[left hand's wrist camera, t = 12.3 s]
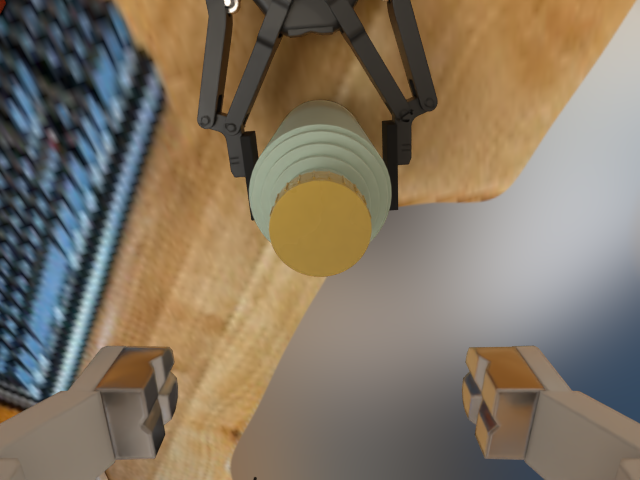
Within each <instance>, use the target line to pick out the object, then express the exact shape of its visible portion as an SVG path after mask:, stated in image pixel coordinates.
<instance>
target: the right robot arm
mask: <svg viewBox="0 0 640 480" xmlns="http://www.w3.org/2000/svg"><path fill="white" fill-rule="evenodd" d="M253 1H254V2H255V3H256V5H257V6H258V7H259V8H260V10H261V11H262V12H263V13H264V15H265V19H264V21H263V24H262V26H261V29H260V31H259V34H258V37H257V41H256V44H255V47H254V49H253V52H252V54H251V57H250V59H249V62H248V64H247V67H246V69H245V72H244V74H243V77H242V79H241V82H240V84H239V87H238V89H237V92H236V94H235V97H234V99H233V102H232V104H231V107H230V109H229V112H228V114H226V113H222V104H223V97H224V89H225V82H226V74H227V66H228V59H229V51H230V43H231V36H232V26H233V16H232V14H236V13H237V12H238V11H239V10H240V3H241V0H206V4H207V9H208V14H209V19H208V28H207V37H206V46H205V55H204V64H203V73H202V82H201V91H200V100H199V108H198V117H197V121H198V124H199V125H200V126H201V127H202V128H204V129H212V130H216V131H219V132H221V133H222V134H223V135H224V136H225V138H226V141H227V147H228V154H229V160H230V167H231V172H232V174H233V175H234V177H246V184H247V191H248V199H249V186H250V179H251V175H252V172H253V169H254V167H255V164H256V162H257V160H258V159H259V158H258V151H257V143H256V135H255V131H248V132H245V131H244V128H245V124H246V121H247V119H248V117H249V114H250V112H251V109H252V107H253V105H254V102H255V100H256V97H257V95H258V93H259V90H260V88H261V85H262V83H263V81H264V78H265V76H266V73H267V71H268V68H269V66H270V64H271V61H272V59H273V56H274V54H275V52H276V50H277V48H278V46H279V44H280V41H281V39H282V36H283V35H285V36H288V37H290V38H293V37H302V36H304V35H307V34H309V33H314V34H319V35H329V34H333V33H335V32H337V31H338V30H340V32H341V34H342V35H343V37H344V38H345V40H346V42H347V43H348V44H349V46H350V47H351V49H352V51H353V52H354V54H355V56H356V57H357V59H358V60H359V62H360V64H361V65H362V67H363V69H364V70H365V72H366V74H367V75H368V77H369V78H370V80H371V82H372V83H373V85H374V87H375V88H376V90H377V91H378V93H379V95H380V96H381V98H382V100H383V101H384V103H385V105H386V106H387V108H388V109H389V111H390V113H391V114H392V120H389V121H382V144H383V161H384V163H385V166H386V168H387V170H388V174H389V177H390V182H391V205H390V209H389V210H398V165H405V164H409V162H410V160H411V125H412V121H413V120H414V118H415V117H417V116H418V115H421V114H423V113H425V112H427V111H432V110H434V109H435V108H436V106H437V97H436V93H435V89H434V86H433V82H432V78H431V75H430V71H429V68H428V64H427V60H426V57H425V53H424V49H423V46H422V42H421V38H420V35H419V31H418V27H417V24H416V20H415V16H414V13H413V9H412V5H411V2H410V0H382V1H387V7H388V13H389V17H390V21H391V24H392V28H393V31H394V35H395V38H396V41H397V45H398V48H399V52H400V55H401V59H402V62H403V65H404V69H405V72H406V76H407V79H408V83H409V86H410V89H411V93H412V96H413V97H412V98H410V99H407V100H406V99H405V98H404V96H403V94H402V92H401V91H400V89H399V87H398V86H397V84H396V82H395V81H394V79H393V77H392V76H391V74H390V72H389V71H388V69H387V67H386V66H385V64H384V62H383V60H382V59H381V57H380V55H379V54H378V52H377V50H376V49H375V47H374V45H373V44H372V42H371V40H370V39H369V37H368V35H367V33H366V32H365V29H364V27H363V25H362V23H361V22H360V20H359V18H358V17H357V15H356V13H355V12H354V10H353V8H354V6H355V5H356V3H357V1H358V0H253ZM249 206H250V201H249ZM250 213H251V220H255V219H254V217H253V214H252V211H251V207H250Z"/></svg>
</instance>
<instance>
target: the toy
mask: <svg viewBox="0 0 640 480" xmlns="http://www.w3.org/2000/svg"><path fill="white" fill-rule="evenodd" d="M5 4H6V2H5V0H0V13H1V12H2V10H3V8H4V6H5Z"/></svg>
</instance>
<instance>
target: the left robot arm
mask: <svg viewBox="0 0 640 480" xmlns="http://www.w3.org/2000/svg"><path fill="white" fill-rule="evenodd" d="M173 364H174V357H173V351H172V349H171V348H170V347H149V346H106V347H103V348H101V349H100V351H99V352H98V353H97V354H96V356H95V357H94V358H93V360H92V361H91V362H90V363H89V365H88V366H87V367H86V368H85V370H84V371H83V372H82V374H81V375H80V376H79V377H78V379H77V380H76V381H75V382H74V384H73V385H72V386H71V388H70V389H69V390H68V391H60V392H58V393H56V394H55V395H53V396H51V397H49V398H47V399H45V400H43V401H42V402H40V403H38V404H36V405H34V406H32V407H30V408H28V409H27V410H25V411H23V412H21V413H19V414H17V415H15V416H14V417H12V418H10V419H8V420H6V421H4V422H2V423H0V480H108V478H107V476H106V474H105V472H104V471H106V470H107V469H108V468H109V467H110V466H111V465H112V464H113V463H115V460H121V459H155V457H156V455H157V453H158V450H159V448H160V445H161V443H162V441H163V438H164V436H165V430H164V425H165V424H166V423H167V422H169V421H170V420H171V419H172V417H173V414H174V412H175V409H176V404H177V398H178V384H177V378H176V377H175V376H174V375H173V374H172V373H171V372H170V371H171V368H172V366H173ZM466 364H467V366H468V368H469V371H470V372H469V373H468V374H467V375H466V376H465V377H464V378H463V385H462V397H463V405H464V409H465V412H466V415H467V417H468V419H469V420H470V421H471V422H473V423H474V424H475V425H476V430H475V436H476V438H477V441H478V443H479V445H480V448H481V450H482V452H483V455H484V457H485V458H486V459H519V460H525V462H526V463H527V464H528V465H529V466H530V467H531V468H532V469H534V470H535V471H536V472H537V473H538V474H539V475H540V476H541V477H542V478H544V479H545V480H640V424H639V423H637V422H636V421H634V420H632V419H630V418H628V417H626V416H624V415H623V414H621V413H619V412H617V411H615V410H613V409H611V408H610V407H608V406H606V405H604V404H602V403H600V402H598V401H597V400H595V399H593V398H591V397H589V396H587V395H585V394H583V393H582V392H580V391H572V390H571V389H570V388H569V386H568V385H567V384H566V383H565V381H564V380H563V379H562V377H561V376H560V375H559V374H558V372H557V371H556V370H555V369H554V367H553V366H552V365H551V364H550V362H549V361H548V360H547V358H546V357H545V356H544V355H543V353H542V352H541V351H540V350H539V348H537V347H535V346H512V347H470V348H469V350H468V352H467V356H466ZM253 480H257V477H254V479H253Z"/></svg>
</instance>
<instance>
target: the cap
mask: <svg viewBox="0 0 640 480" xmlns="http://www.w3.org/2000/svg"><path fill="white" fill-rule="evenodd" d="M366 205H367V203H366V200H365V197H364V195H363V196H362V194H361V192H360V191H359V189H358V188H357V187H356V184H353V183H352V182H351V181H349V180H348V179H346V178H345V177H344V176H343V175H342V176H340V175H338V174H335V173H332V172H330V171H328V172H326V171H315V170H314V171H313V172H309V173H305V174H302V175H299V176H298V177H296V178H294V179H293V180H291V181H290V182H289V183H288V182H287V183H286V186H285V187H284V188H283V189H282V190H281V192H280V193H278V194H277V197H276V200H275V204H274V206H272V209H271V212H270V216H271V217H270V222H269V235H270V240H271V244H272V246H273V248H274V250H275V252H276V254H277V255H278V256H279V258H280V259H281V260H282V261H283V262H284V263H285V264H286V265H287V266H289V267H290V268H292V269H293V270H295V271H297V272H299V273H302V274H305V275H309V276H315V277H325V276H332V275H336V274H338V273H341V272H343V271H345V270H347V269H349V268H350V267H352V266H353V265H354V264H356V263H357V262H358V261H359V260H360V258H361V257H362V256H363V254H364V253H365V251H366V249H367V247H368V245H369V242H370V238H371V233H372V225H371V219H372V218H371V215H370V212H369V209H368V208H367V206H366Z"/></svg>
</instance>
